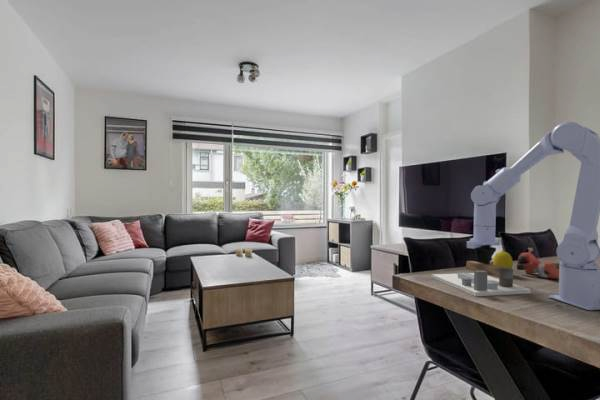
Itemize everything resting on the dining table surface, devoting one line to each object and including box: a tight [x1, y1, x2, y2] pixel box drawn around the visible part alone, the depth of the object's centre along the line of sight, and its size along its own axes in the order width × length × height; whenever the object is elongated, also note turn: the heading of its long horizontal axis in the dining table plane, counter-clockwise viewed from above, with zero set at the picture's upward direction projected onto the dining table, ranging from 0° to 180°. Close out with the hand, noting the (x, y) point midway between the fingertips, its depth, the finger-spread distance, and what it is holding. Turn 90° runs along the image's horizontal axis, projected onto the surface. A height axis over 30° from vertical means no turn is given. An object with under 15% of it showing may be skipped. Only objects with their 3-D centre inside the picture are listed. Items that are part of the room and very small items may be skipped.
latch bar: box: [465, 260, 514, 287], centre depth 92 cm, size 13×3×4 cm, turn 24°
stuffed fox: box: [516, 247, 559, 280], centre depth 104 cm, size 8×11×12 cm
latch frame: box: [431, 271, 532, 297], centre depth 92 cm, size 19×17×6 cm
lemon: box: [492, 250, 514, 269], centre depth 106 cm, size 6×6×8 cm
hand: (483, 270), depth 96 cm, fingers closed, pressing on latch bar
